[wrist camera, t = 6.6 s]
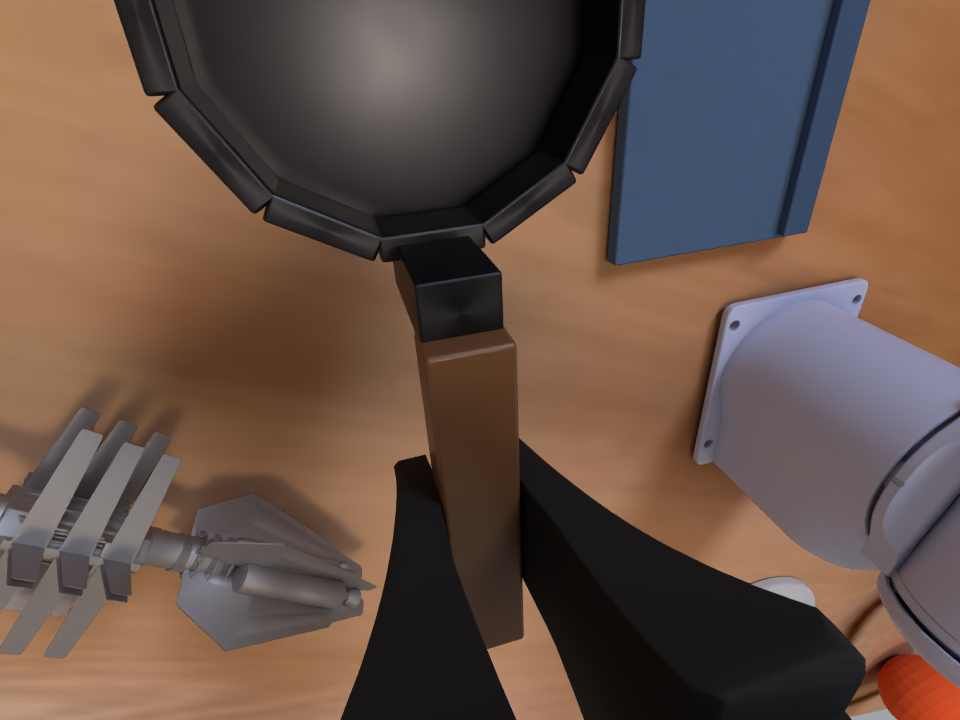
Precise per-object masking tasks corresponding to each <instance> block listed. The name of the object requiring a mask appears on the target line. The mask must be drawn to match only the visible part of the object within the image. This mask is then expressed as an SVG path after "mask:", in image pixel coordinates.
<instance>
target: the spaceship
mask: <svg viewBox="0 0 960 720" xmlns="http://www.w3.org/2000/svg"><path fill="white" fill-rule="evenodd" d="M99 416H100V413H98V412H95V411H92V410H90V409H87V408H84V407H82V408H81V409H79V411H78V412H77V413H76V415H75V416H74V418H73V419H72V420H71V422H70V423H69V425H68V426H67V427H66V429H65V430H64V431H63V433H62V434H61V436H60V437H59V438H58V440H57V441H56V443H55V444H54V445H53V447H52V448H51V449H50V451H49V452H48V454H47V455H46V456H45V458H44V459H43V461H42V462H41V463H40V465H39V466H38V468H37V469H36V470H35V472H34V473H32V472H29V474H28V476H27V478H25V481H24V483H23V486H19V485H12V487H11V488H10V490H9V491H8V492H7V494H2V493H0V612H1V611H2V610H3V608H4V607H5V606H6V610H11V611H19V612H21V614H20V615H19V617H18V619H17V620H16V622H15V624H14V625H13V627H12V629H11V630H10V632H9V634H8V635H7V637H6V639H5V640H4V642H3V644H2V645H1V647H0V654H12V655H20V654H21V653H22V652H23V651H24V650H25V648H26V647H27V646H28V644H29V643H30V641H31V640H32V639H33V637H34V636H35V635H36V633H37V632H38V630H39V629H40V628H41V626H42V625H43V623H44V622H45V621H46V619H47V618H48V617H49V615H53V616H62V617H65V616H66V615H67V614H68V612H69V610H70V608H71V607H72V605H73V603H74V602H75V600H76V598H77V596H79V598H78V600H77V601H76V603H75V605H74V606H73V608H72V610H71V611H70V613H69V614H68V616H67V618H66V619H65V621H64V623H63V624H62V626H61V628H60V629H59V631H58V632H57V634H56V636H55V637H54V639H53V641H52V642H51V644H50V646H49V647H48V649H47V650H46V652H45V654H44V657H51V658H64V657H66V656H67V655H68V653H69V652H70V650H71V649H72V648H73V646H74V645H75V643H76V642H77V641H78V639H79V638H80V637H81V635H82V634H83V632H84V631H85V630H86V628H87V627H88V626H89V624H90V623H91V621H92V620H93V619H94V617H95V616H96V614H97V613H98V612H99V610H100V609H101V608H102V606H103V605H104V603H105V602H106V601H107V600H110V601H117V602H125V603H126V602H128V599H127V596H131V573H135V572H138V570H139V568H140V567H141V565H149V566H155V567H160V568H165V569H166V570H167V571H171V570H173V571H178V572H180V575H181V579H182V581H181V585H180V589H179V594H178V598H177V602H176V604H177V605H178V607H179V608H180V609H181V610H182V611H183V612H184V613H185V614H186V615H187V616H188V617H189V618H190V619H191V620H192V621H193V622H195V623H196V624H197V625H198V626H199V627H200V628H201V629H202V630H203V631H204V632H205V633H206V634H207V635H208V636H209V637H210V638H211V639H213V640H214V641H215V642H216V643H217V644H218V645H219V646H220V647H221V648H222V649H223V650H224V651H229V650H233V649H238V648H242V647H246V646H250V645H255V644H259V643H263V642H267V641H272V640H276V639H280V638H284V637H289V636H293V635H297V634H301V633H306V632H310V631H314V630H318V629H323V628H327V627H329V626H330V624H331V623H332V622H335V621H339V620H343V619H347V618H351V617H355V616H359V615H361V614H362V613H363V600H362V599H361V592H360V590H371V589H374V588H376V586H375V585H373V584H371V583H369V582H366V581H364V580H362V579H361V576H362V568H361V566H360V565H358V564H357V563H355V562H354V561H352V560H351V559H349V558H348V557H346V556H345V555H343V554H342V553H340V552H339V551H337V550H336V549H335V548H334V545H333V544H332V543H331V542H329V541H327V540H326V539H324V538H323V537H321V536H320V535H318V534H317V533H315V532H313V531H312V530H310V529H309V528H307V527H306V526H304V525H303V524H301V523H300V522H298V521H296V520H295V519H293V518H292V517H290V516H289V515H287V514H286V513H284V512H282V511H281V510H279V509H278V508H276V507H275V506H273V505H272V504H270V503H269V502H267V501H265V500H264V499H262V498H261V497H259V496H258V495H256V494H255V493H253V494H249V495H246V496H242V497H238V498H235V499H231V500H228V501H224V502H221V503H217V504H214V505H210V506H207V507H203V508H201V509H199V510H198V511H197V515H196V519H195V522H194V526H193V530H192V533H191V536H189V535H185V534H184V533H180V534H179V533H175V532H170V531H166V530H162V529H161V528H156V527H152V526H150V525H151V523H152V521H153V519H154V517H155V515H156V513H157V511H158V509H159V506H160V504H161V502H162V500H163V498H164V496H165V494H166V492H167V490H168V488H169V485H170V483H171V481H172V479H173V477H174V475H175V473H176V471H177V469H178V467H179V464H180V461H181V459H178V458H175V457H172V456H168V455H165V454H164V455H163V456H162V457H161V455H162V453H163V452H164V450H165V448H166V447H167V445H168V444H169V442H170V440H171V437H170V436H167V435H164V434H161V433H158V432H155V433H154V434H153V435H152V437H151V438H150V439H149V441H148V442H147V444H146V445H145V446H144V448H143V447H140V446H137V445H133V444H130V443H128V442H129V440H130V439H131V437H132V435H133V434H134V432H135V430H136V429H137V425H134V424H131V423H128V422H125V421H122V420H120V421H119V422H118V423H117V424H116V426H115V427H114V428H113V430H112V431H111V432H110V434H109V435H108V437H107V438H106V439H105V441H104V442H103V444H102V445H101V446H100V448H99V449H98V450H97V448H98V446H99V444H100V442H101V440H102V437H103V435H101V434H98V433H95V432H92V431H91V430H92V428H93V426H94V425H95V423H96V421H97V420H98V418H99ZM96 450H97V452H96ZM95 452H96V453H95ZM94 454H95V455H94ZM160 457H161V458H160ZM159 458H160V460H159ZM158 460H159V462H158ZM157 462H158V464H157V465H156V463H157ZM155 465H156V467H155V469H154V471H153V472H152V474H151V476H150V477H149V479H148V481H147V483H146V484H145V486H144V488H143V490H142V491H141V493H140V495H139V496H138V498H137V500H136V502H135V503H134V505H133V507H132V509H131V510H130V511H129V510H128V509H129V507H130V506H131V504H132V502H133V501H134V499H135V498H136V496H137V494H138V493H139V491H140V489H141V488H142V486H143V484H144V483H145V481H146V480H147V478H148V476H149V475H150V473H151V471H152V470H153V468H154V466H155ZM182 574H183V576H182ZM89 576H92V577H91V578H90V580H89V582H88V583H87V579H88V577H89ZM83 589H84V590H83ZM6 604H7V605H6Z"/></svg>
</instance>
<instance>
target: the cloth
mask: <svg viewBox="0 0 960 720" xmlns="http://www.w3.org/2000/svg"><path fill="white" fill-rule="evenodd" d="M869 3H870V0H646V4H645V16H644V28H643V40H642V52H641V57H640V58H639V59H637V60H627V61H629V62H630V63H631V64H633V65H634V66H636V68H637V71H636V73H635V75H634V77H633V79H632V81H631V83H630V85H629V87H628V89H627V91H626V93H625V94H624V96H623V98H622V100H621V102H620V104H619V113H618V126H617V139H616V152H615V165H614V178H613V190H612V203H611V216H610V229H609V242H608V255H607V260H608V261H609V262H611V263H612V264H614V265H622V264H628V263H633V262H639V261H645V260H651V259H656V258H662V257H668V256H674V255H679V254H685V253H691V252H697V251H702V250H708V249H714V248H720V247H725V246H731V245H737V244H743V243H748V242H754V241H760V240H766V239H771V238H777V237H783V236H789V235H794V234H800V233H806V232H807V230H808V226H809V222H810V219H811V215H812V211H813V208H814V204H815V201H816V197H817V193H818V190H819V186H820V182H821V179H822V175H823V171H824V168H825V164H826V160H827V157H828V153H829V149H830V146H831V142H832V138H833V135H834V131H835V128H836V124H837V120H838V117H839V113H840V109H841V106H842V102H843V98H844V95H845V91H846V87H847V84H848V80H849V76H850V73H851V69H852V65H853V62H854V58H855V55H856V51H857V47H858V44H859V40H860V36H861V33H862V29H863V25H864V22H865V18H866V14H867V11H868V7H869Z"/></svg>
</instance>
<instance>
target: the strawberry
mask: <svg viewBox="0 0 960 720" xmlns="http://www.w3.org/2000/svg"><path fill="white" fill-rule="evenodd" d="M878 688H879V694H880V696H881V698H882V700H883V703H884V704H885V706H886V707H887V709H888V710H889V711H890V712H891V714H892V715H893V716H894V717H895V718H896V719H897V720H960V688H958V687H957V686H955V685H954V684H953V683H951V682H950V681H949V680H947V679H946V678H945V677H944V676H942V675H941V674H940V673H939V672H938V671H936V670H935V669H934V668H933V667H932V666H931V665H930V664H928V663H927V662H926V661H925V660H924V659H923V658H922V657H921V656H918V655H911V654H903V655H899V656H895V657H892V658H890V659H889V660H888V661H886V662H885V663H884V665H883V666H882V668H881V670H880V672H879V676H878Z"/></svg>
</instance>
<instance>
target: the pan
mask: <svg viewBox="0 0 960 720" xmlns="http://www.w3.org/2000/svg"><path fill="white" fill-rule="evenodd" d="M114 3H115V6H116V9H117V12H118V15H119V18H120V21H121V24H122V27H123V30H124V33H125V36H126V39H127V42H128V45H129V48H130V51H131V54H132V57H133V60H134V63H135V66H136V69H137V72H138V75H139V78H140V81H141V84H142V87H143V90H144V92H145V94H146V95H147V96H163V95H165V96H164V97H163V98H162V99H160V100H159V101H158V102H157V103H156V104H155V105H154V109H155V111H156V112H157V113H158V114H159V115H160V116H161V117H162V118H163V119H164V120H165V121H166V122H167V123H168V124H169V125H170V126H171V128H172V129H173V130H174V131H175V132H176V133H177V134H178V135H179V136H180V137H181V138H182V139H183V140H184V141H185V142H186V143H187V145H188V146H189V147H190V148H191V149H192V150H193V151H194V152H195V153H196V154H197V155H198V156H199V157H200V158H201V159H202V160H203V161H204V163H205V164H206V165H207V166H208V167H209V168H210V169H211V170H212V171H213V172H214V173H215V174H216V175H217V176H218V177H219V178H220V179H221V181H222V182H223V183H224V184H225V185H226V186H227V187H228V188H229V189H230V190H231V191H232V192H233V193H234V194H235V195H236V196H237V197H238V199H239V200H240V201H241V202H242V203H243V204H244V205H245V206H246V207H247V208H248V209H249V210H250V211H251V212H252V213H254V214H255V213H258V212H259V211H260V210H262V209H263V208H264V207H265V206H266V208H265V212H264V215H263V220H264V221H265V222H268V223H270V224H273V225H276V226H278V227H281V228H284V229H287V230H289V231H292V232H295V233H297V234H300V235H303V236H305V237H308V238H311V239H313V240H316V241H319V242H322V243H324V244H327V245H330V246H332V247H335V248H338V249H340V250H343V251H346V252H348V253H351V254H354V255H357V256H359V257H362V258H365V259H367V260H370V261H374V260H375V259H376V256H377V254H378V252H379V255H380V257H381V260H382V262H391V261H393V265H394V272H395V279H396V284H397V286H398V289H399V291H400V294H401V297H402V299H403V302H404V304H405V307H406V310H407V312H408V315H409V317H410V320H411V323H412V325H413V328H414V330H415V336H414V337H415V345H416V352H417V360H418V367H419V375H420V382H421V390H422V398H423V405H424V413H425V420H426V428H427V435H428V443H429V450H430V458H431V465H432V473H433V479H434V482H435V485H436V488H437V491H438V494H439V499H440V503H441V508H442V513H443V517H444V522H445V526H446V531H447V536H448V540H449V545H450V549H451V553H452V556H453V560H454V563H455V566H456V569H457V572H458V575H459V577H460V580H461V583H462V586H463V588H464V591H465V594H466V597H467V599H468V602H469V605H470V607H471V610H472V612H473V615H474V618H475V620H476V623H477V626H478V628H479V631H480V633H481V636H482V639H483V641H484V643H485V646H486V648H487V649H489V648H493V647H496V646H499V645H503V644H506V643H509V642H512V641H516V640H519V639H522V638H523V636H524V628H523V588H522V549H521V510H520V470H519V431H518V391H517V352H516V343H515V342H514V340H513V339H512V337H511V336H510V335H509V333H508V332H507V330H506V329H505V328H504V326H503V301H502V275H501V271H500V270H499V269H498V268H497V267H496V266H495V265H494V264H493V262H492V261H491V260H490V259H489V258H488V257H487V256H486V254H485V253H484V252H483V251H482V250H481V248H484V247H485V238H486V239H487V240H488V241H489V242H490V243H492V244H494V243H496V242H497V241H498V240H500V239H501V238H502V237H504V236H505V235H506V234H508V233H509V232H510V231H512V230H513V229H514V228H516V227H517V226H518V225H520V224H521V223H522V222H524V221H525V220H526V219H528V218H529V217H530V216H532V215H533V214H534V213H536V212H537V211H538V210H540V209H541V208H542V207H544V206H545V205H546V204H548V203H549V202H550V201H552V200H553V199H554V198H556V197H557V196H558V195H560V194H561V193H562V192H564V191H565V190H566V189H568V188H569V187H570V186H572V185H573V184H574V183H575V182H576V179H575V177H574V175H573V173H572V171H573V172H576V173H578V174H583V173H584V171H585V169H586V167H587V165H588V164H589V162H590V160H591V158H592V156H593V154H594V152H595V150H596V148H597V146H598V144H599V142H600V140H601V139H602V137H603V135H604V133H605V131H606V129H607V127H608V125H609V123H610V121H611V119H612V117H613V116H614V114H615V112H616V110H617V108H618V106H619V104H620V102H621V100H622V98H623V96H624V94H625V93H626V91H627V89H628V87H629V85H630V83H631V81H632V79H633V77H634V75H635V73H636V71H637V68H636V66H634V65H633V64H631V63H630V62H629V61H627V60H637V59H639V58H640V57H641V52H642V40H643V28H644V16H645V4H646V0H114Z"/></svg>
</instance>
